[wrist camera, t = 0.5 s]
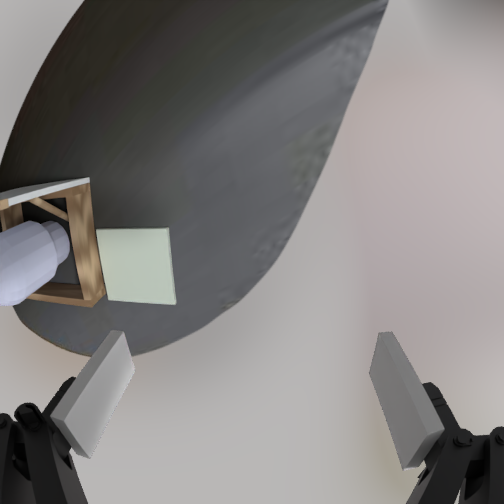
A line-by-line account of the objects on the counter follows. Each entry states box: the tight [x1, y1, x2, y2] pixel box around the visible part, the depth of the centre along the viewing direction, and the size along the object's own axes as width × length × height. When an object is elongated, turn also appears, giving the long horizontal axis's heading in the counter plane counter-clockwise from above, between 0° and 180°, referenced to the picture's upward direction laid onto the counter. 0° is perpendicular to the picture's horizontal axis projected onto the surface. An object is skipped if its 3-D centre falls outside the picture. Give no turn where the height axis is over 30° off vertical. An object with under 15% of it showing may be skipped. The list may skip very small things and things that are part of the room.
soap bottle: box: [0, 221, 70, 306], centre depth 32 cm, size 10×10×24 cm
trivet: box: [96, 227, 176, 305], centre depth 43 cm, size 12×12×1 cm
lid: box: [0, 177, 90, 210], centre depth 31 cm, size 1×19×19 cm, turn 91°
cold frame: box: [0, 183, 106, 307], centre depth 37 cm, size 19×18×12 cm
